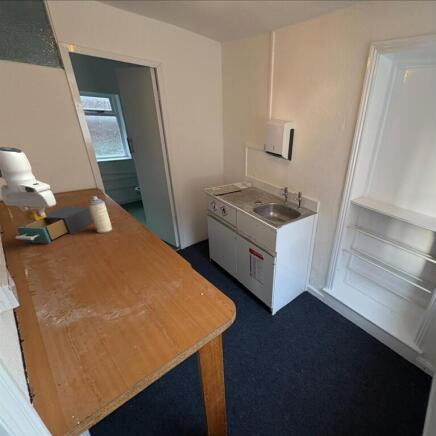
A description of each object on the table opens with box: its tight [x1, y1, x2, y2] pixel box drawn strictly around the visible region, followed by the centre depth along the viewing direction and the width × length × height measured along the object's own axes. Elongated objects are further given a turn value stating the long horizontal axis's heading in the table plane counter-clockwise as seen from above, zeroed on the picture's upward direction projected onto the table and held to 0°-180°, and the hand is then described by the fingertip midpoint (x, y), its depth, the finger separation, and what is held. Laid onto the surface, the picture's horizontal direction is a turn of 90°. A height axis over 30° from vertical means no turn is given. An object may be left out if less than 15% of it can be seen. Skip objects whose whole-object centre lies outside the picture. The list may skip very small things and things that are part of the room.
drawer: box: [15, 218, 68, 244], centre depth 118 cm, size 19×12×8 cm, turn 0°
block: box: [22, 207, 46, 221], centre depth 107 cm, size 4×4×4 cm
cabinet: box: [42, 206, 94, 235], centre depth 130 cm, size 16×14×10 cm
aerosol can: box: [88, 195, 113, 234], centre depth 127 cm, size 7×7×20 cm
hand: (35, 214), depth 107 cm, fingers closed on block, 4 cm apart
